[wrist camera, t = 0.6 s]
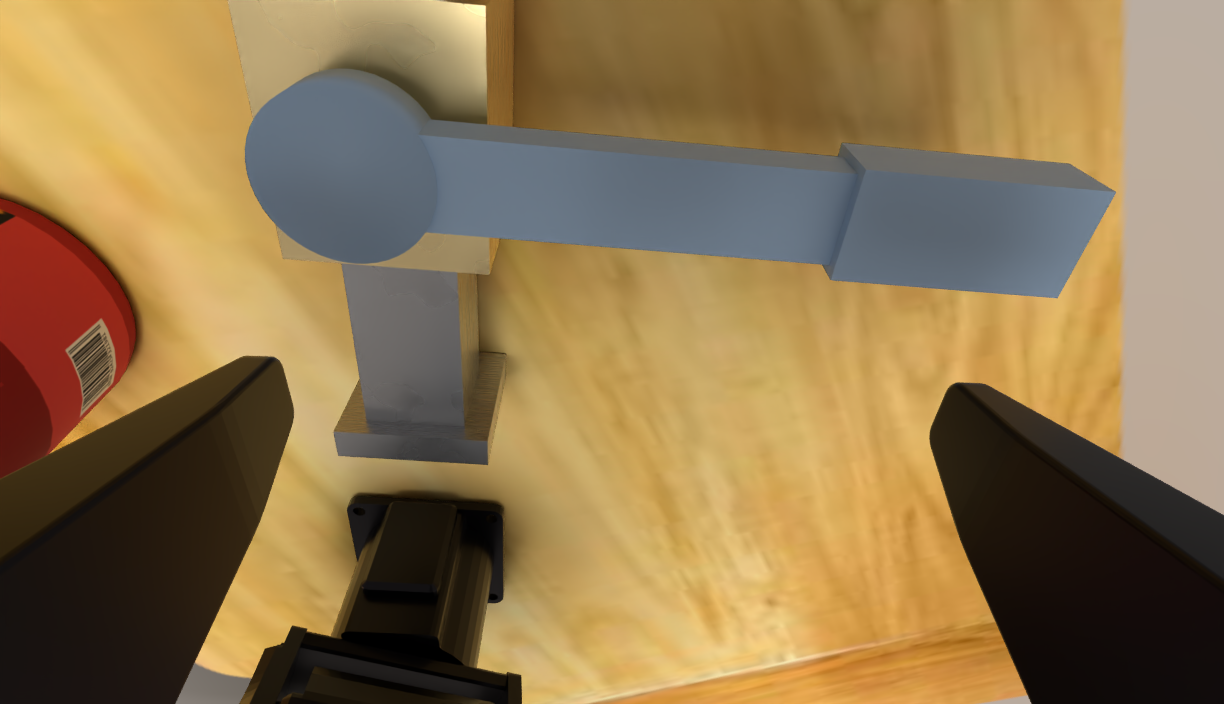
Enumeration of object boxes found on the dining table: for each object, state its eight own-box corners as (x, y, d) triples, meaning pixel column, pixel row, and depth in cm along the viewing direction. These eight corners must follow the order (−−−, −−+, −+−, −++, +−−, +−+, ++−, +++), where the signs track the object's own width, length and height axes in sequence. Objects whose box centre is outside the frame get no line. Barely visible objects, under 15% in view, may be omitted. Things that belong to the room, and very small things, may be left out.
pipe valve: (511, 376, 25) (492, 474, 21) (373, 366, 24) (327, 464, 20) (517, -428, 13) (476, -568, 9) (256, -465, 13) (93, -627, 9)
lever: (1000, 277, 16) (1044, 321, 15) (299, 220, 15) (262, 261, 14) (1072, 130, 14) (1132, 162, 13) (267, 52, 13) (219, 77, 12)
